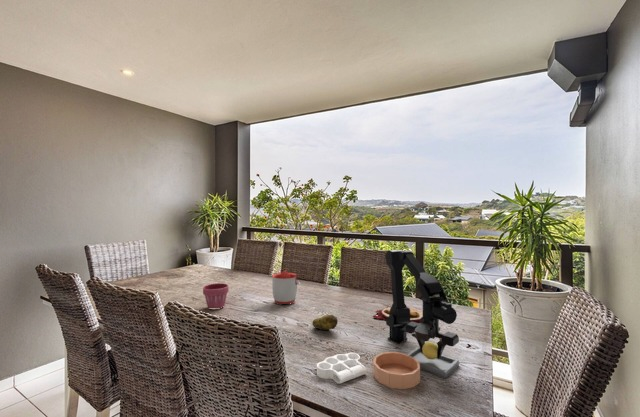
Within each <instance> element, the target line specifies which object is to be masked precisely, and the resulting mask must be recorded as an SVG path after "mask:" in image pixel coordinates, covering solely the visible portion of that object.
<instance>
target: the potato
mask: <svg viewBox="0 0 640 417" xmlns="http://www.w3.org/2000/svg"><path fill="white" fill-rule="evenodd" d="M338 323H339V322H338V318H337V317H336V316H335V315H333V314H326V315H323V316H321V317H318V318H315V319H313V321H312V326H313V328H315V329H320V330H322V331H329V330H334V329H335V328H336V327H337V325H338Z"/></svg>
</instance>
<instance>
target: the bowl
mask: <svg viewBox="0 0 640 417" xmlns="http://www.w3.org/2000/svg"><path fill="white" fill-rule="evenodd" d="M372 363H373V364H372V365H373V366H372V369H373V370H372V371H373V372H372V373H373V377H374V378H375V380H376V381H377V382H378V383H379V384H382V385H384V386H386V387H387V388H391V389H398V390H399V389H400V390H405V389H411V388H415V387H417V385H418V384H420V383H421V369H420V363H419V362H418V361H417V360H416V359H415V358H414V357H412V356H409V355H407V353H403V352H396V351H386V352H381V353H379V354H376V355H375V356H374V357H373V362H372Z"/></svg>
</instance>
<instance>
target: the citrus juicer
mask: <svg viewBox="0 0 640 417" xmlns="http://www.w3.org/2000/svg"><path fill="white" fill-rule="evenodd" d="M271 277H272V284H271V285H272V287H271V288H272V290H271V291H272V295H273V300H274V302H276V303H278V304H290V303H292V304H294V303H295V300H296V298H297V294H298V285H301V282H300V280H299V279H298V274H297V273H295V272H294V273H293V272H288V271H287V270H286V269H285V270H283V271H282V272H278V273H274V274H272V275H271ZM293 302H294V303H293ZM276 303H275V304H276ZM278 304H277V305H278ZM290 305H291V304H290Z"/></svg>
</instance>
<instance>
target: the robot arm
mask: <svg viewBox="0 0 640 417" xmlns="http://www.w3.org/2000/svg"><path fill="white" fill-rule="evenodd" d="M384 257H385V261H386V262H385V263H386V265H387V267H388V268H389V270H390V276H391V277H390V278H391V291H392V304H391V306H390V307H391V308H390V315H389V317H388V318H387V319H386V321H385V323H386V324H385V325H386V326H387V327H388V328H389V337H387V340H388V341H391V342H394V343H397V344H402V343H403V342H405V341H407V340H408V337H407V334H410V335H411V336H412V337H414V338H415V339H416V341H417V344H418V345H419V346H418V347H420V349H421V352H422V353H423V351H422V347H423V345H424V344H425V343H426V342H430V339H432V340H434V339H435V338H437V339H438V341H437V342H436V345H437V346H438V352H437V357H438V359H440V357H441V354H442V355H443V351H444V350H445V347H447V346H448V347H455V345H457V344H458V343H459V342H460V341H459V339H460V338H459V335H458V334H457V333H454V332H450V331H446V332H444V333H442V332H440V331H441V327H440V322H439V321H441V322H442V323H445V324H446V325H447V324H448V325H452V324H454V323H455V321H456V320H457V317H458V315H457V311H456V309H455V308H454V307H453V305H452V303H450V302H447V301H448V298H447V295H446V292H445V291H444V289H443V286H442V284H441V283H440V281H439V280H438V279H437V278H436V277H435V276H432V275H431V274H429V273H428V272H427V271H426V270H425V268H424V267H423V266H422V264H421V263H420V262H419V260H418V259H417V258H416V256H415V255H414V252H413V251H412V250H403V249H391V250H390V249H389V250H387V252H386V253H385V256H384ZM405 266H406V267H407V270H409V272H410V273H411V274H412V276H413V278H414V279H415V280H416V287H417V289H418V291H419V293H420V296H419V297H418V299H419V300H421V301H422V312H423V317H421V321H420V323H416V322H410V318H411V316H410V308H411V307H410V308H408V307H409V306H408V305H407V304H406V303H405V290H404V289H405V288H404V276H403V270H404V267H405ZM409 322H410V323H409Z"/></svg>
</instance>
